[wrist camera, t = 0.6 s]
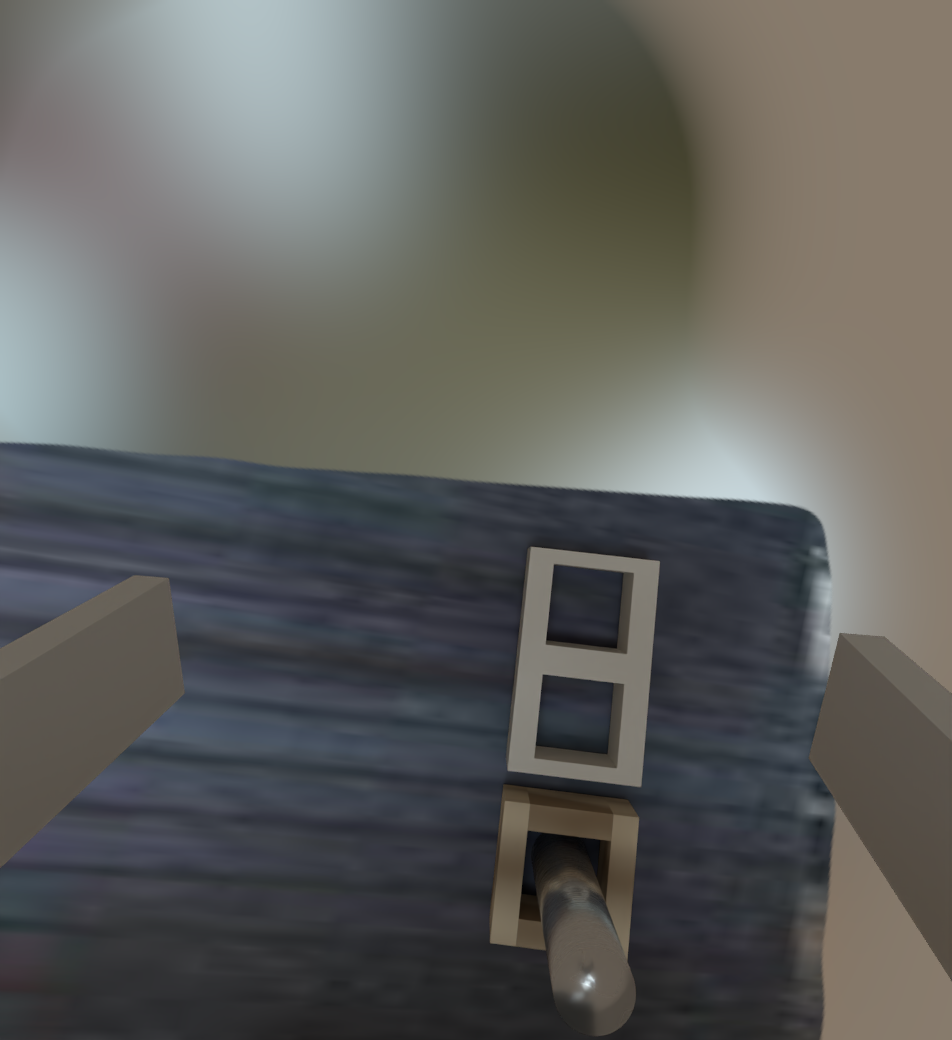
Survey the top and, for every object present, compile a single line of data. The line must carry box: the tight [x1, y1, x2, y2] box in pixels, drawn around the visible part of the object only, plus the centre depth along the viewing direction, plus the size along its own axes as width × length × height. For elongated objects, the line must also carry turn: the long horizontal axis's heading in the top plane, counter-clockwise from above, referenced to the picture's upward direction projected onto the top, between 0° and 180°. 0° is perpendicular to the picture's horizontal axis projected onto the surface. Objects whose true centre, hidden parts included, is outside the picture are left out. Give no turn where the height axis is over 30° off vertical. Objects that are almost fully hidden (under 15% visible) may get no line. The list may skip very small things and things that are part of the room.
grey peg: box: [531, 832, 636, 1036], centre depth 34 cm, size 4×4×13 cm
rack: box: [506, 547, 660, 787], centre depth 40 cm, size 15×9×3 cm, turn 173°
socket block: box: [490, 784, 639, 959], centre depth 39 cm, size 9×9×3 cm
